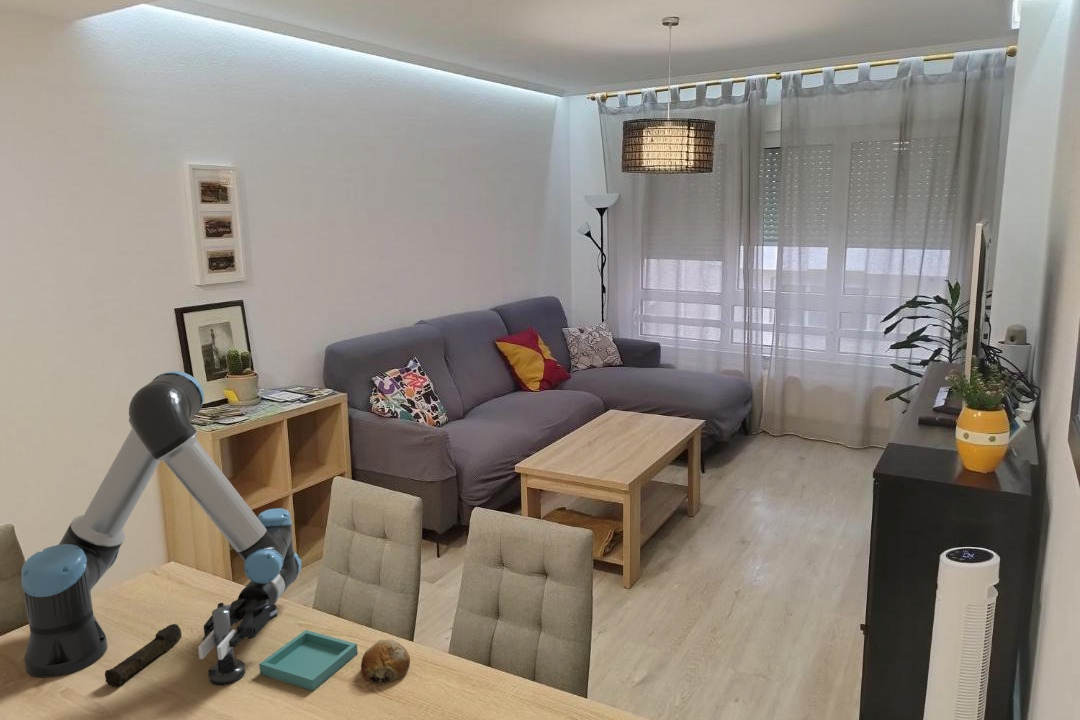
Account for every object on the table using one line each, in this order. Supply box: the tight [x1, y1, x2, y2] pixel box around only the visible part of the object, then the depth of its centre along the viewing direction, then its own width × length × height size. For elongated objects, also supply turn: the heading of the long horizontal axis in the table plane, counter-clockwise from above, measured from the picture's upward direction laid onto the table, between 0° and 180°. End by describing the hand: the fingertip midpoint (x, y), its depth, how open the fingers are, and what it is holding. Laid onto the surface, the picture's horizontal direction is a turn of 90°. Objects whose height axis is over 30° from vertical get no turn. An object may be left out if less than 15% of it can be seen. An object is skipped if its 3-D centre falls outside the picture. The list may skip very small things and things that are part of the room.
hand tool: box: [104, 623, 182, 688], centre depth 165 cm, size 19×4×5 cm, turn 160°
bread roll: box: [360, 639, 411, 685], centre depth 161 cm, size 10×10×8 cm
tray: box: [258, 629, 359, 692], centre depth 163 cm, size 14×14×2 cm
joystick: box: [208, 607, 246, 687], centre depth 159 cm, size 7×7×14 cm
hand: (210, 653), depth 153 cm, fingers closed on joystick, 3 cm apart
